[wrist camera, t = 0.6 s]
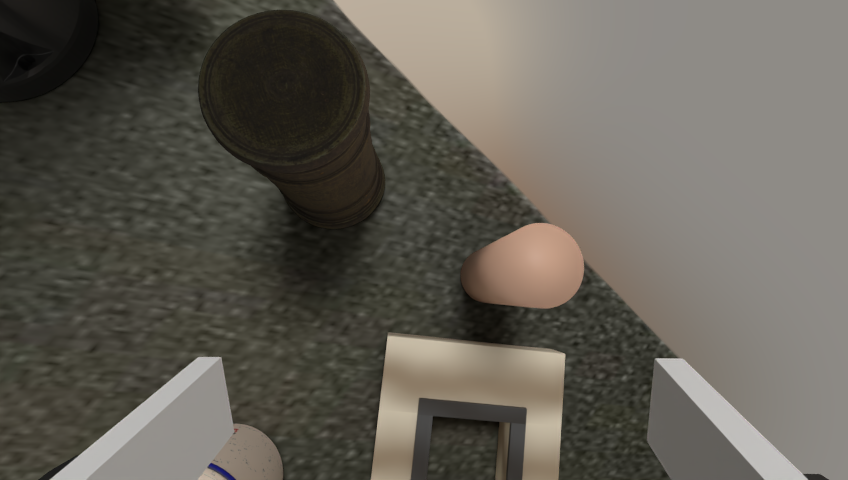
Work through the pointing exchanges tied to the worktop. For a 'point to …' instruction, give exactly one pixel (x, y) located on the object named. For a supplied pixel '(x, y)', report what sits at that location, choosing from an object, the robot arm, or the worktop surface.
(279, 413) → the worktop surface
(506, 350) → the band board
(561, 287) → the peg
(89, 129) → the worktop surface
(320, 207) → the container
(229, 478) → the teacup with lid
